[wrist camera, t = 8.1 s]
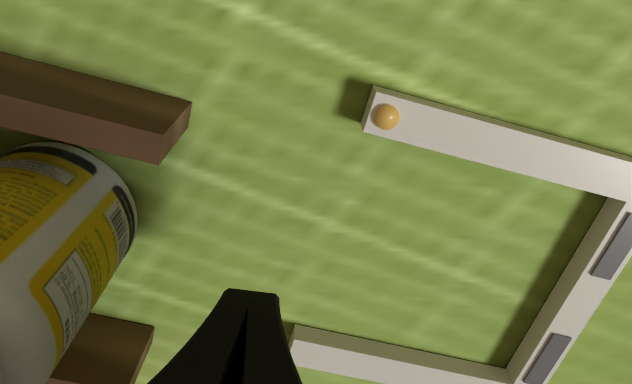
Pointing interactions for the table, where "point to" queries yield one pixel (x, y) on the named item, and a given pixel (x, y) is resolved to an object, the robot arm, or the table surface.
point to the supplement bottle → (55, 251)
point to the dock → (569, 292)
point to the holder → (104, 135)
